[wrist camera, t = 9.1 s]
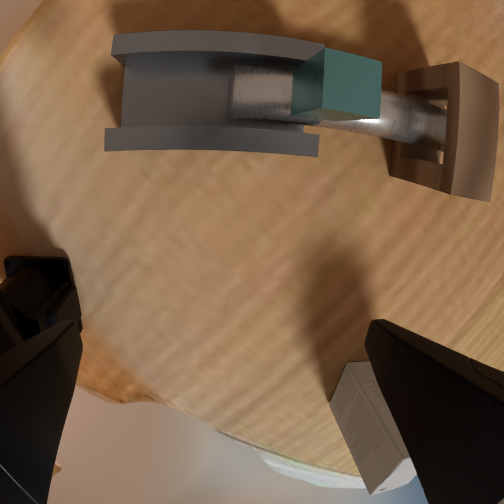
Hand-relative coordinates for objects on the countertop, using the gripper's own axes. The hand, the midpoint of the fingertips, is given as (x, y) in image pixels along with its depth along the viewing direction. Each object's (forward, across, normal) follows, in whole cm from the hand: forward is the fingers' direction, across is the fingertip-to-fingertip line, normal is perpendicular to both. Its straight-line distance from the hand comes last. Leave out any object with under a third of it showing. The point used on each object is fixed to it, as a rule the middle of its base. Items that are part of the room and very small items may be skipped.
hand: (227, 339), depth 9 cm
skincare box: (+13, -14, +16) cm, 25 cm away
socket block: (+13, -14, -8) cm, 21 cm away
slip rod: (+11, -8, -8) cm, 16 cm away
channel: (+13, 0, -8) cm, 15 cm away
